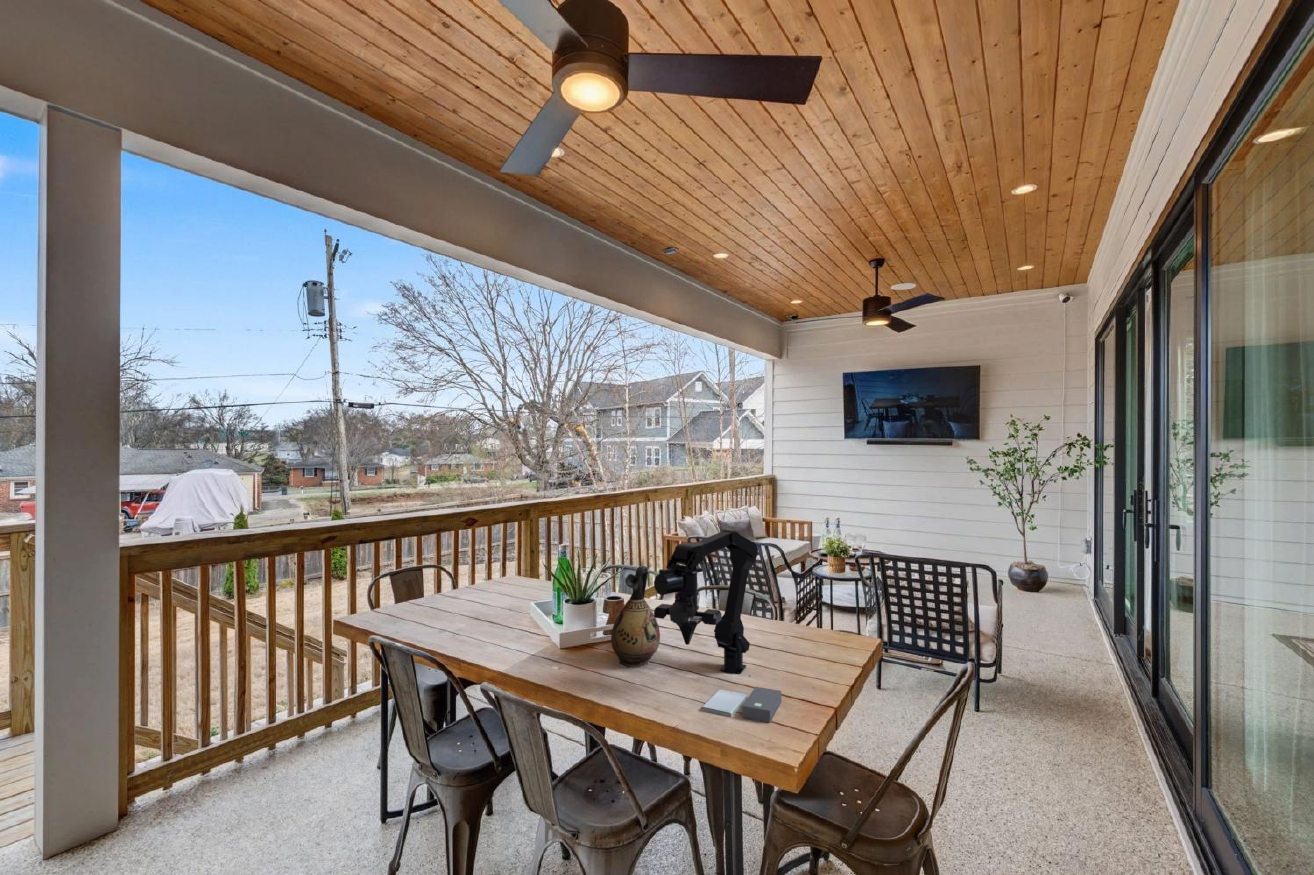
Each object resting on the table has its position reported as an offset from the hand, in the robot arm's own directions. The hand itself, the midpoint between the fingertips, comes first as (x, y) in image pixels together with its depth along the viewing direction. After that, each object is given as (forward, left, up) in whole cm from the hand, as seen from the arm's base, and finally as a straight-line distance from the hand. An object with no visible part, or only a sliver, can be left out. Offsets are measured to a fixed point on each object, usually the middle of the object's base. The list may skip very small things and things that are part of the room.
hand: (687, 644), depth 168 cm
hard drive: (+7, +13, -13) cm, 19 cm away
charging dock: (+6, +23, -12) cm, 27 cm away
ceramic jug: (-12, -22, -12) cm, 28 cm away
